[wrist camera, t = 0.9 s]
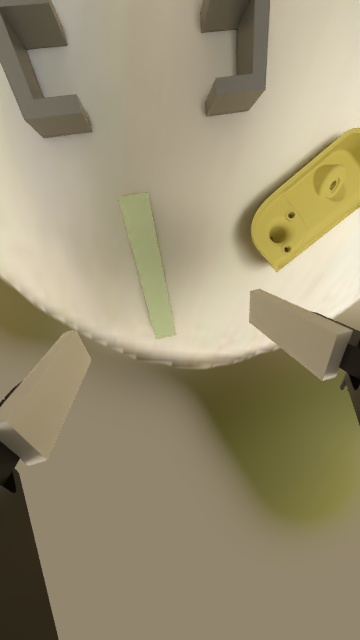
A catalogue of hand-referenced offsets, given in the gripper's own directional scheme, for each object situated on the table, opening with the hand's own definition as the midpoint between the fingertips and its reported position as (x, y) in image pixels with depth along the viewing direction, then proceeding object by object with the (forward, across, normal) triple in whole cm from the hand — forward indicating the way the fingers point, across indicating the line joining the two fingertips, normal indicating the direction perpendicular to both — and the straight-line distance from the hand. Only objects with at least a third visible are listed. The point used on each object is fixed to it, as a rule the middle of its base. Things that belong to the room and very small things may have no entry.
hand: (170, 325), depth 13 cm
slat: (+18, -1, +1) cm, 18 cm away
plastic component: (+18, +24, +6) cm, 31 cm away
